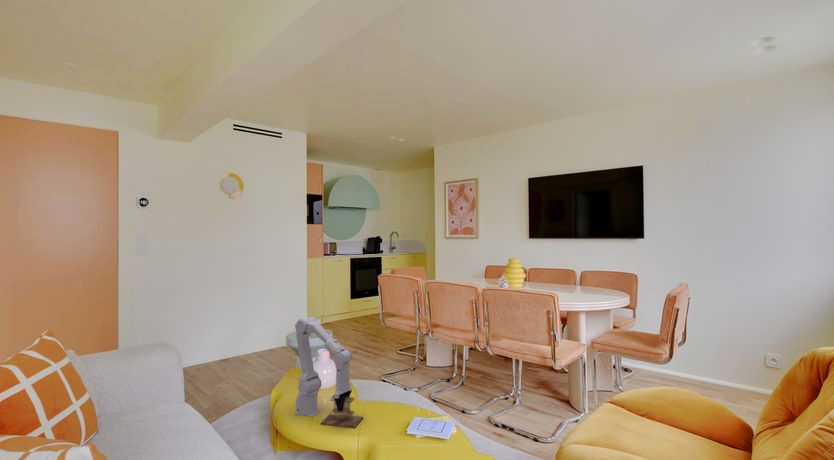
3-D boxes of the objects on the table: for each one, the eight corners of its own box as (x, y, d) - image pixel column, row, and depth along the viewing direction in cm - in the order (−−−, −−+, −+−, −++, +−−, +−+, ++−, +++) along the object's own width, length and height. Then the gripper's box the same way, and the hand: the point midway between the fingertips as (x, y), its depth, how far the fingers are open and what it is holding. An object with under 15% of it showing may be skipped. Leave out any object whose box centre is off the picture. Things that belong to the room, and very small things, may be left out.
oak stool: (350, 416, 174) (351, 400, 174) (329, 414, 176) (329, 398, 176) (354, 413, 177) (354, 397, 178) (333, 410, 180) (333, 395, 180)
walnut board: (320, 424, 173) (320, 422, 173) (330, 415, 183) (330, 413, 183) (355, 428, 170) (355, 426, 170) (363, 418, 180) (363, 416, 180)
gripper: (344, 384, 169) (344, 416, 169) (357, 373, 183) (356, 403, 183) (329, 383, 171) (329, 415, 170) (342, 372, 185) (342, 402, 184)
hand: (342, 409), depth 177 cm, fingers closed on oak stool, 4 cm apart
